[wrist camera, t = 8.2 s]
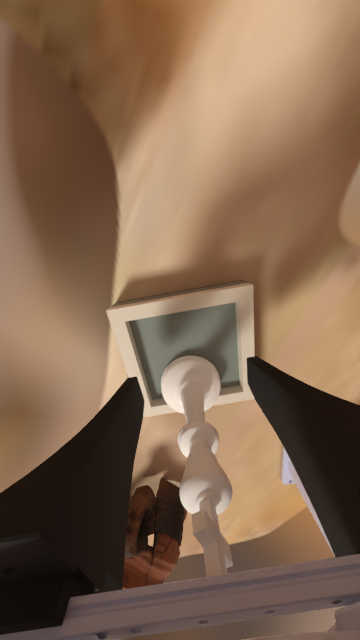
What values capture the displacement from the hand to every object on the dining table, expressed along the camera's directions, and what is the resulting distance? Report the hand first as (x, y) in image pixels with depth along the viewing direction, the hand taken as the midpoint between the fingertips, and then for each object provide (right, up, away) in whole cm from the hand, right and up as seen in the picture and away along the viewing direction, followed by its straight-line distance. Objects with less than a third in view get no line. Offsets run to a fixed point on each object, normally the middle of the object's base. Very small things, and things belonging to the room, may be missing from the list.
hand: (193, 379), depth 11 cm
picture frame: (0, +1, +4) cm, 4 cm away
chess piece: (0, -1, +3) cm, 4 cm away
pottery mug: (-5, -19, +12) cm, 23 cm away
